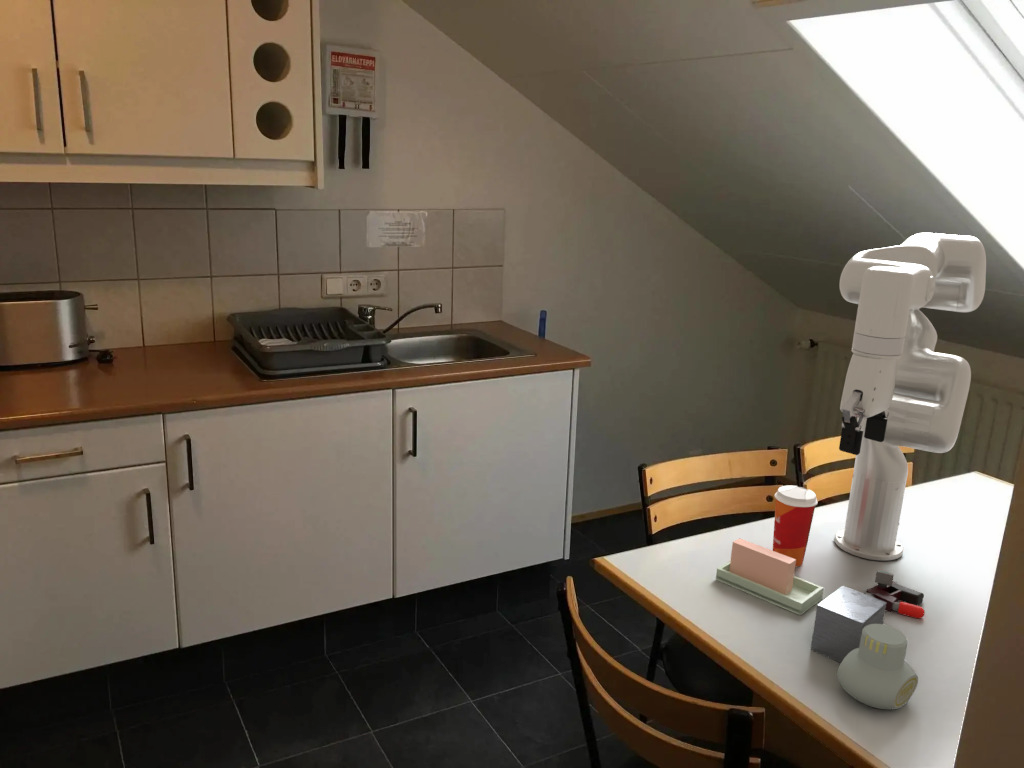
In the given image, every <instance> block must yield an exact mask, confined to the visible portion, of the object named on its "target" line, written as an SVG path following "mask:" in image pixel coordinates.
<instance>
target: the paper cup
mask: <svg viewBox="0 0 1024 768" xmlns="http://www.w3.org/2000/svg"><path fill="white" fill-rule="evenodd" d="M774 498H775V510H774V520H773V522H774V523H773V524H774V525H773V526H774V527H773V537H772V539H773V540H772V551H775V552H778V553H780V554H783V555H785V556H788V557H791V558H793V559H796V565H795V568H799V567H800V566H801V567H802V565H803V562H804V558H805V555H806V551H807V547H808V541H809V536H810V531H811V529H812V528H811V527H812V523H813V518H814V513H815V507H816V506H817V505H818V499H817V495H816V493H815V492H814V491H813V490H812V489H807V488H806V487H802V486H798V485H792V484H791V485H788V484H787V485H781V486H779V487H778V488H777V491H776V492H775V493H774Z"/></svg>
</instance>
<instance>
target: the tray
mask: <svg viewBox="0 0 1024 768" xmlns="http://www.w3.org/2000/svg"><path fill="white" fill-rule="evenodd" d="M730 561H731V560H729V561H728V562H726V563H723V564H722V565H720V566H719V567H717V568H716V576H715V580H716V581H717V582H721V583H723V584H725V585H728V586H730V587H733V588H735V589H737V590H740V591H742V592H744V593H747V594H748V595H751V596H753V597H756V598H759V599H761V600H763V601H765V602H768V603H770V604H773V605H775V606H777V607H779V608H781V609H784V610H785V611H789V612H792V613H794V614H796V615H798V616H801V615H803V614H804V613H805V612H807V611H808V610H810V609H811V608H812V607H813V606H814V605H815V606H816V604H818V602H819V603H820V602H821V601H822V599H823V595H824V586H821V585H819V584H816V583H814V582H812V581H808V580H806V579H804V578H801V577H798V576H796V575H794V579H793V586H792V591H791V592H789V593H788V594H786V595H784V594H782V593H779V592H777V591H775V590H772V589H770V588H767V587H765V586H762V585H760V584H758V583H755V582H753V581H750V580H748V579H746V578H743V577H741V576H738V575H736V574H733V573H731V572H729V569H730Z"/></svg>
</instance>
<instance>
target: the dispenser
mask: <svg viewBox="0 0 1024 768" xmlns="http://www.w3.org/2000/svg"><path fill="white" fill-rule="evenodd" d="M863 593H864V592H861V591H857V590H855V589H852V588H850V587H848V586H845V585H841V586H840V587H838V588H837V589H836V590H834V591H833V592H832V593H831V594H830V595H828V596H827V597H826V598H825V599H823V600H821V601H819V603H817V606H816V612H815V618H814V625H813V631H812V637H811V644H810V651H812V652H815V653H817V654H818V655H819V654H820V655H821V656H824V657H826V658H828V659H831V660H833V661H835V662H837V663H838V664H839V663H840V664H841V662H842V661H843V659H844V658H845V657H846V656H847V655H848V654H849V653H850V652H851V651H852V650H854V649H856V648H859V646H860V641H861V635H862V630H863V628H864V627H865V626H867V625H870V624H884V620H885V613H886V610H885V609H886V603H887V602H884V601H881V600H879V599H876V598H874V597H871V596H868V595H866V594H863Z"/></svg>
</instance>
